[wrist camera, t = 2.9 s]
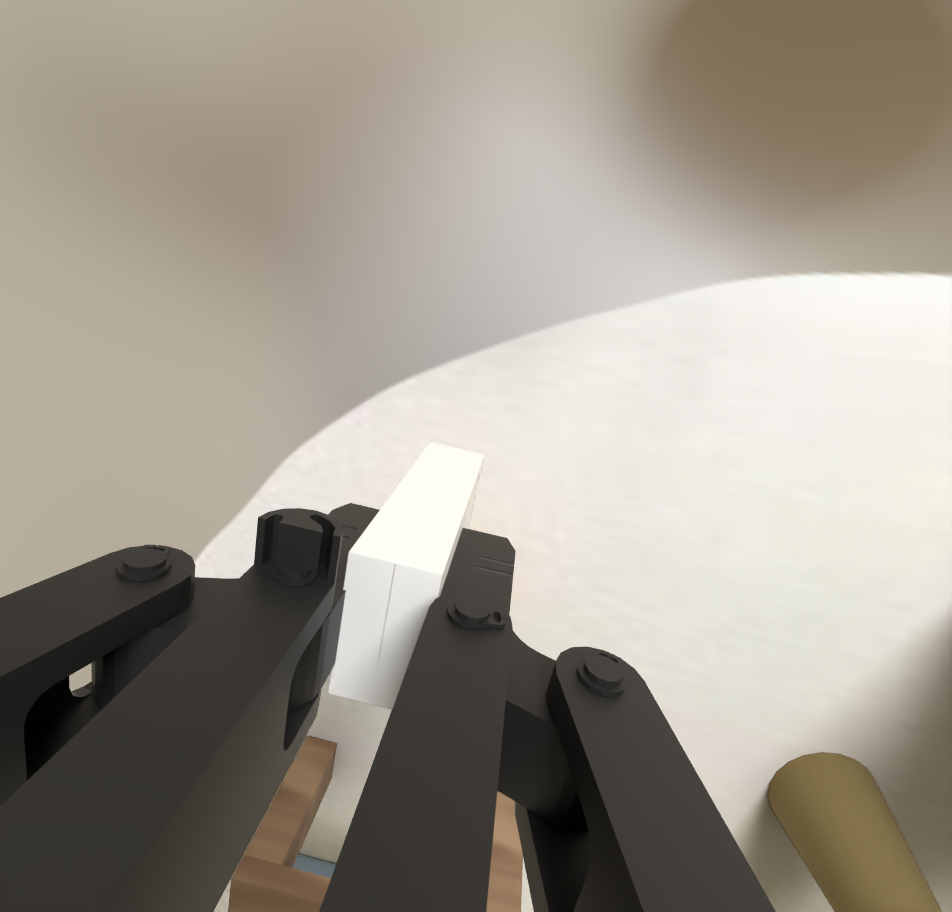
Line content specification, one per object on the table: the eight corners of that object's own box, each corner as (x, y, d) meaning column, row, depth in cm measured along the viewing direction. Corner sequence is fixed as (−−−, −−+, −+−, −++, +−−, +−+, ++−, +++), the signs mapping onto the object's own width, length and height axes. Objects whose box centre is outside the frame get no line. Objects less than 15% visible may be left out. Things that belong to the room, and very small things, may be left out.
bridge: (514, 826, 36) (505, 998, 27) (302, 771, 37) (227, 919, 28) (524, 792, 35) (519, 957, 26) (307, 735, 36) (231, 878, 27)
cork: (754, 821, 34) (851, 1058, 23) (785, 743, 32) (904, 961, 21) (856, 842, 33) (1001, 1094, 23) (892, 764, 32) (1068, 998, 21)
